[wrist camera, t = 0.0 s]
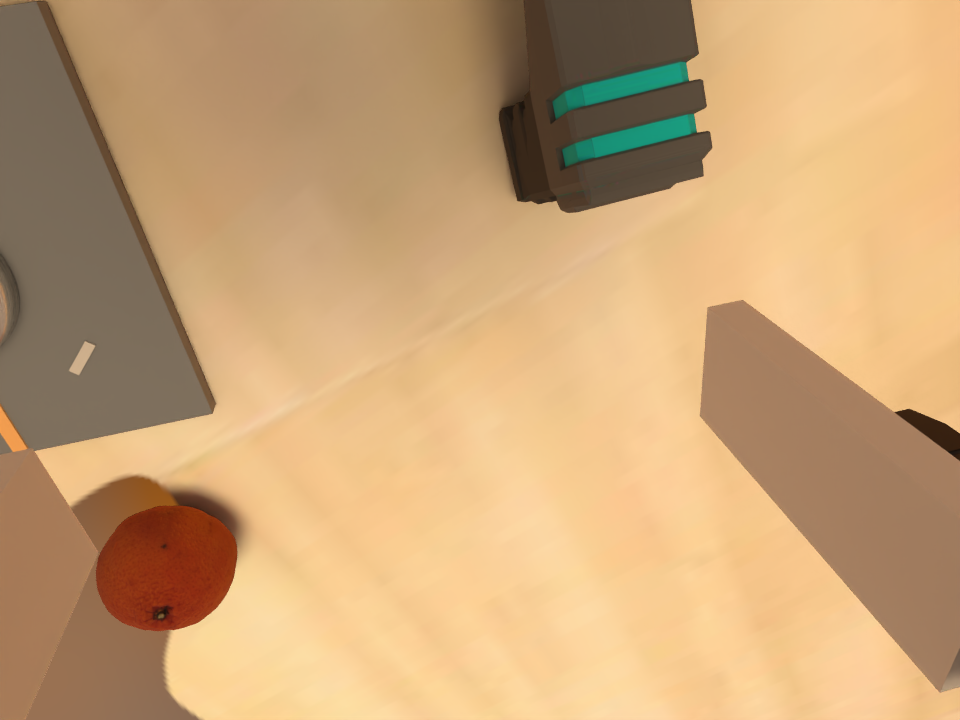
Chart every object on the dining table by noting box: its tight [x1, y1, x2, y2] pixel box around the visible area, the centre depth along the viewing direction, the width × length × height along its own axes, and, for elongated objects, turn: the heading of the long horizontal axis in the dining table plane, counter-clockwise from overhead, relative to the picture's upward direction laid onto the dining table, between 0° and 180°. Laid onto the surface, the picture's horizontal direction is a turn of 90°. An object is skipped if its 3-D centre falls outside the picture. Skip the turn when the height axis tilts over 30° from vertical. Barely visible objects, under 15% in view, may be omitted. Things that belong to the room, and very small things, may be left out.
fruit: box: [96, 506, 237, 631], centre depth 44 cm, size 9×9×8 cm
